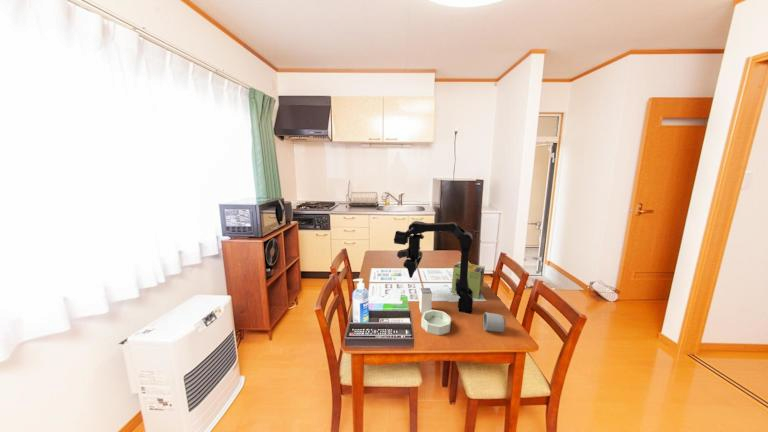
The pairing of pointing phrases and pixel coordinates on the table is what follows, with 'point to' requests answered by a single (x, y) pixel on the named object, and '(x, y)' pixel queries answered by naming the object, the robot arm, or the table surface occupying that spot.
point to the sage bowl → (436, 322)
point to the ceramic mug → (494, 322)
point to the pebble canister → (425, 299)
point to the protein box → (470, 278)
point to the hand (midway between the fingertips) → (412, 274)
